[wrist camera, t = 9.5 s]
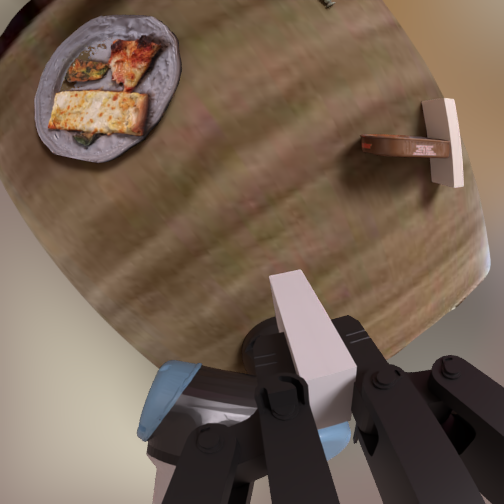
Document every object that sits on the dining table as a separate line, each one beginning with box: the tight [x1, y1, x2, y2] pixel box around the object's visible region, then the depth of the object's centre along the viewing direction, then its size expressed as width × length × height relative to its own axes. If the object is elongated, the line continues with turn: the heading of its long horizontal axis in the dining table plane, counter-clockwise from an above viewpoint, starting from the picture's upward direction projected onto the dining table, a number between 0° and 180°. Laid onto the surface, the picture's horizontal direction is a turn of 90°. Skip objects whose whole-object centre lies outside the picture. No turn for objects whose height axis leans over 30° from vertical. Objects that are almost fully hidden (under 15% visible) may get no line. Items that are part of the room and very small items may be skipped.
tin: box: [360, 134, 450, 158], centre depth 31 cm, size 15×3×8 cm, turn 97°
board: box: [421, 98, 464, 188], centre depth 32 cm, size 14×2×6 cm, turn 12°
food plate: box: [34, 15, 182, 163], centre depth 28 cm, size 25×23×4 cm
